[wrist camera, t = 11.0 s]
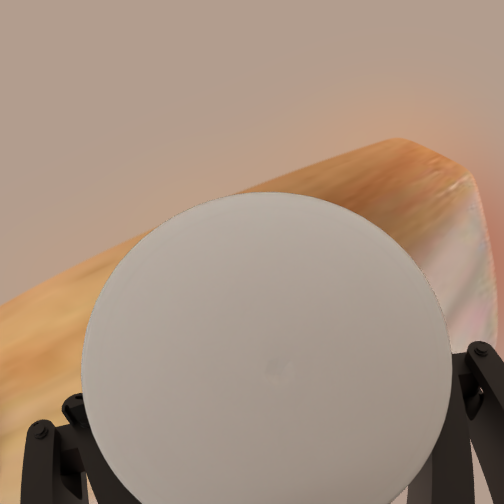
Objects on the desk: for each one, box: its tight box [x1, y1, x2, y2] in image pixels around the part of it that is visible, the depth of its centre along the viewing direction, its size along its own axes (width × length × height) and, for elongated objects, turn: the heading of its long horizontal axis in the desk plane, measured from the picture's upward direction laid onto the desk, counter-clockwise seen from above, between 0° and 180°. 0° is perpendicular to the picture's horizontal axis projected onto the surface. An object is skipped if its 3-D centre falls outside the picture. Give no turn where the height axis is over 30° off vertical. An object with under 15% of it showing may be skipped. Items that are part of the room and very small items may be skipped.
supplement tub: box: [81, 192, 452, 504], centre depth 13 cm, size 10×10×15 cm
